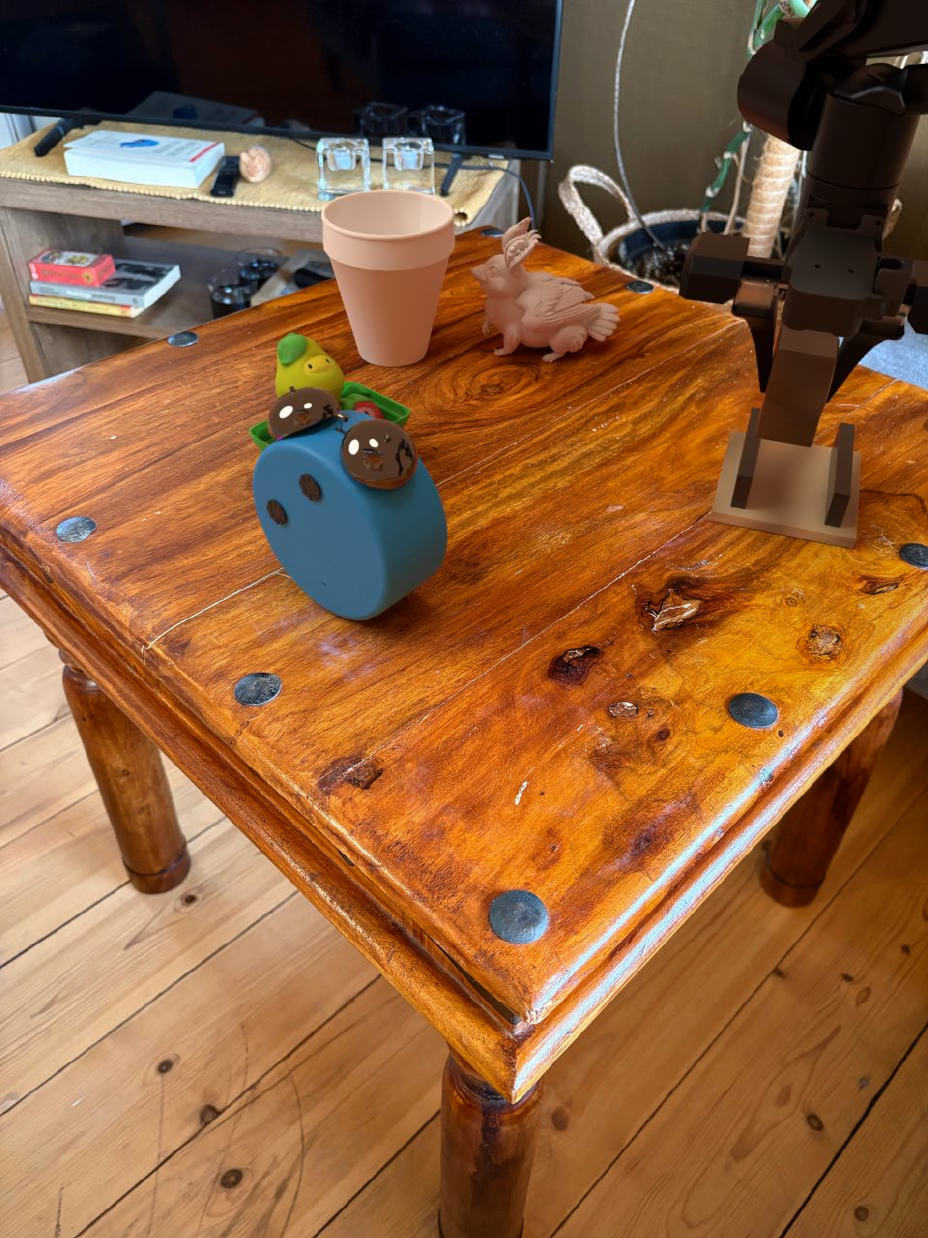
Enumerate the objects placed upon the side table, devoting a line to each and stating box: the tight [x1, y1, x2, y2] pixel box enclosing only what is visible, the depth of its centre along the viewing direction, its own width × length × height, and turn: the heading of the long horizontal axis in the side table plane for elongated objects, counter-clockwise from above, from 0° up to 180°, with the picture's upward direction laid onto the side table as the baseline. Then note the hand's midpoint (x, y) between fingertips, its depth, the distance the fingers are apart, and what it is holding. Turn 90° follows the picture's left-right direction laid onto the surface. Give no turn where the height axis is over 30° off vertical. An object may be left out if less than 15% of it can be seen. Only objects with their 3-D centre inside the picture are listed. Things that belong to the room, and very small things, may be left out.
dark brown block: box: [755, 320, 841, 447], centre depth 72 cm, size 4×7×7 cm, turn 162°
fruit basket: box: [248, 331, 411, 454], centre depth 79 cm, size 11×9×11 cm
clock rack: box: [709, 406, 862, 550], centre depth 80 cm, size 11×13×4 cm
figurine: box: [470, 216, 621, 363], centre depth 96 cm, size 8×15×13 cm, turn 100°
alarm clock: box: [252, 386, 449, 621], centre depth 66 cm, size 13×6×15 cm, turn 49°
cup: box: [320, 188, 456, 368], centre depth 95 cm, size 12×12×14 cm
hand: (793, 395), depth 73 cm, fingers closed on dark brown block, 4 cm apart
